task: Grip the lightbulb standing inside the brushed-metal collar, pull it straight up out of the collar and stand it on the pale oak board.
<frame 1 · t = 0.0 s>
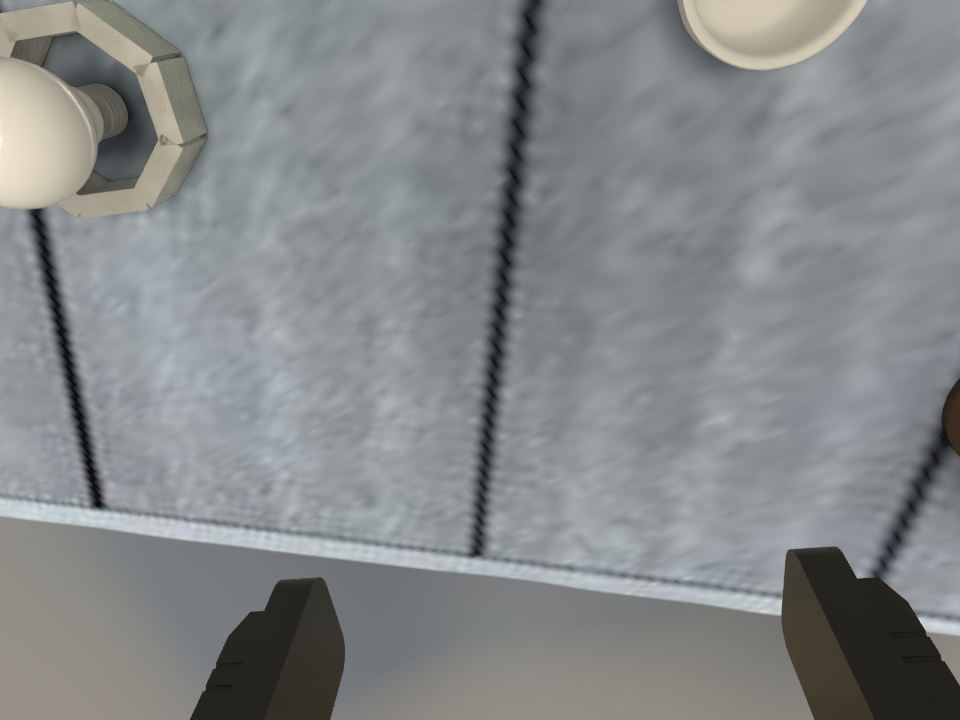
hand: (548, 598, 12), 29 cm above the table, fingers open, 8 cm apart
collar: (109, 108, 38), on the table
lightbulb: (111, 108, 38), resting in collar
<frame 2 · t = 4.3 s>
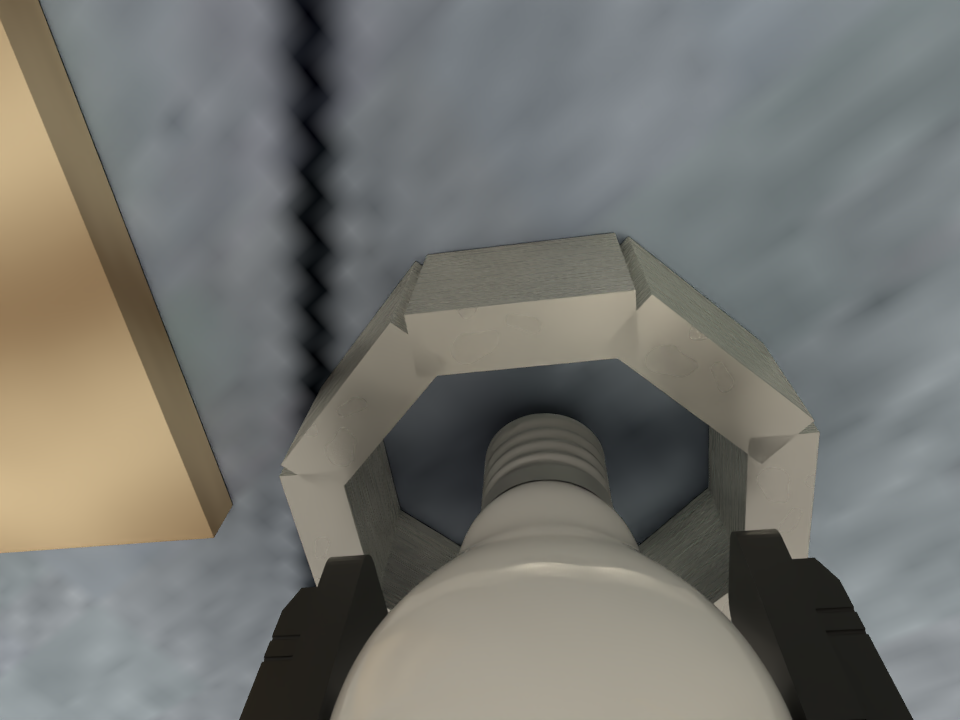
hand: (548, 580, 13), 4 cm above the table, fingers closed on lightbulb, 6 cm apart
collar: (544, 446, 16), on the table
lightbulb: (543, 441, 17), resting in collar, touching gripper
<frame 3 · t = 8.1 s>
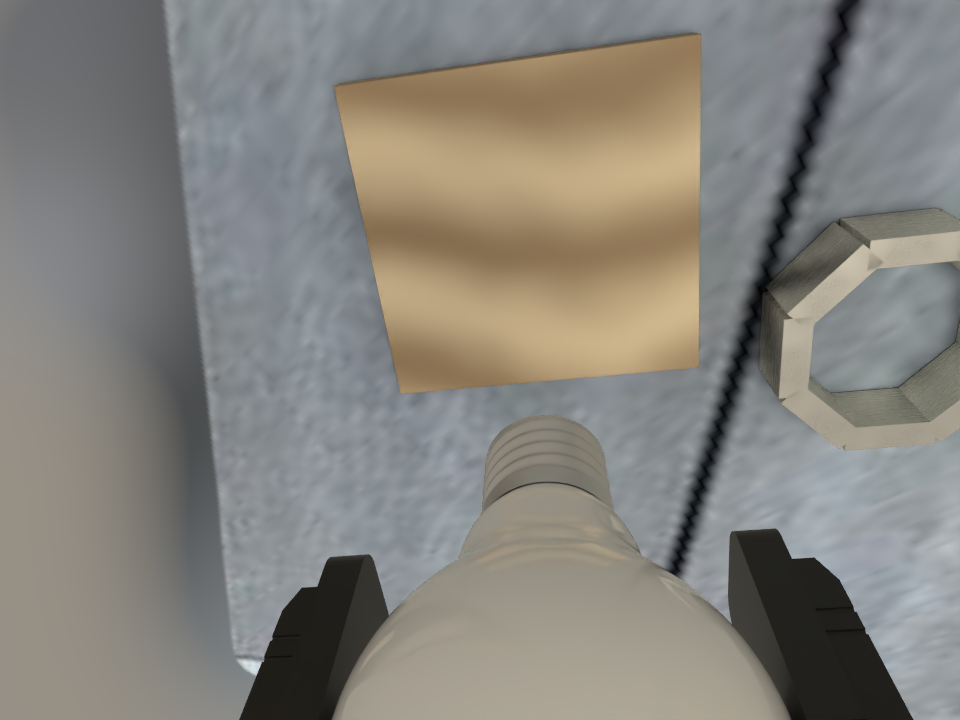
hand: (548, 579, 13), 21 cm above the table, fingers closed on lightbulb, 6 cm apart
collar: (873, 319, 32), on the table
lightbulb: (544, 443, 17), point 16 cm above the table, touching gripper
oak board: (530, 229, 31), on the table
when the fingers open (6 cm above the table, at t = 11.7 s): lightbulb drops 1 cm, resting on oak board.
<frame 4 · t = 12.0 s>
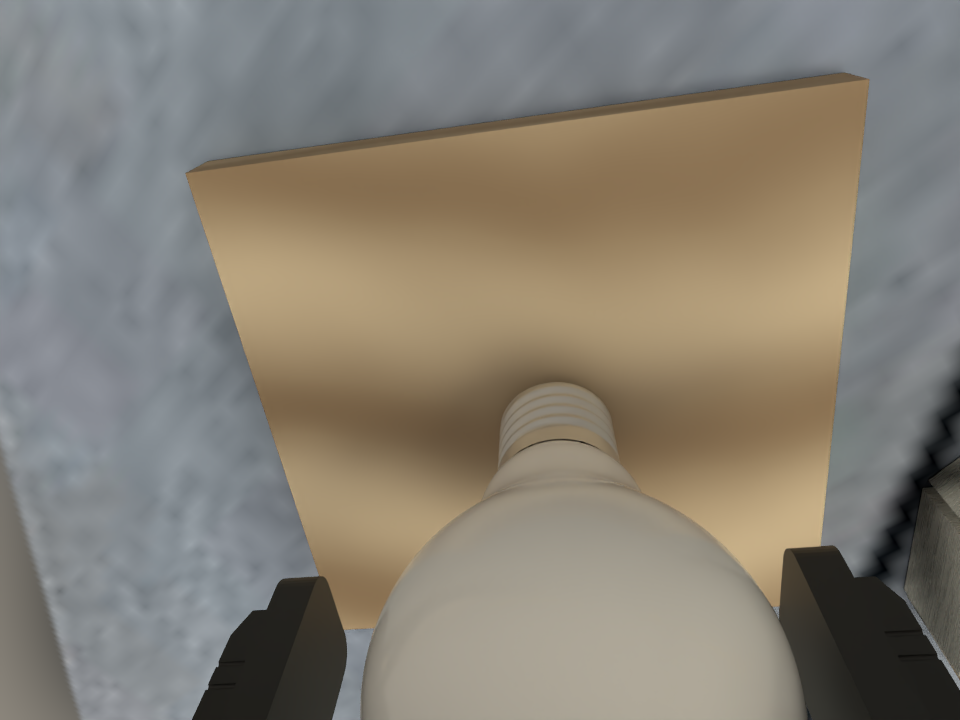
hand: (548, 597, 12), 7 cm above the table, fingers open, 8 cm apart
lightbulb: (554, 410, 18), point 1 cm above the table, touching oak board
oak board: (541, 393, 19), on the table
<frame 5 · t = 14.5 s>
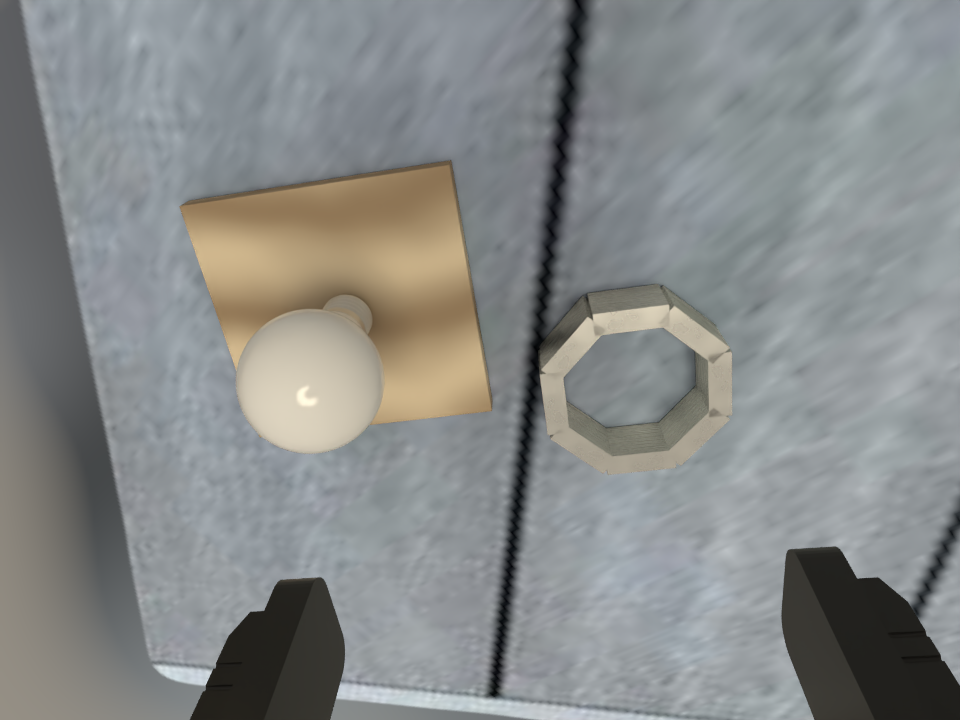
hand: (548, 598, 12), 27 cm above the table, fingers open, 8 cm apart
collar: (628, 369, 40), on the table
lightbulb: (351, 311, 38), point 1 cm above the table, touching oak board
oak board: (349, 306, 39), on the table
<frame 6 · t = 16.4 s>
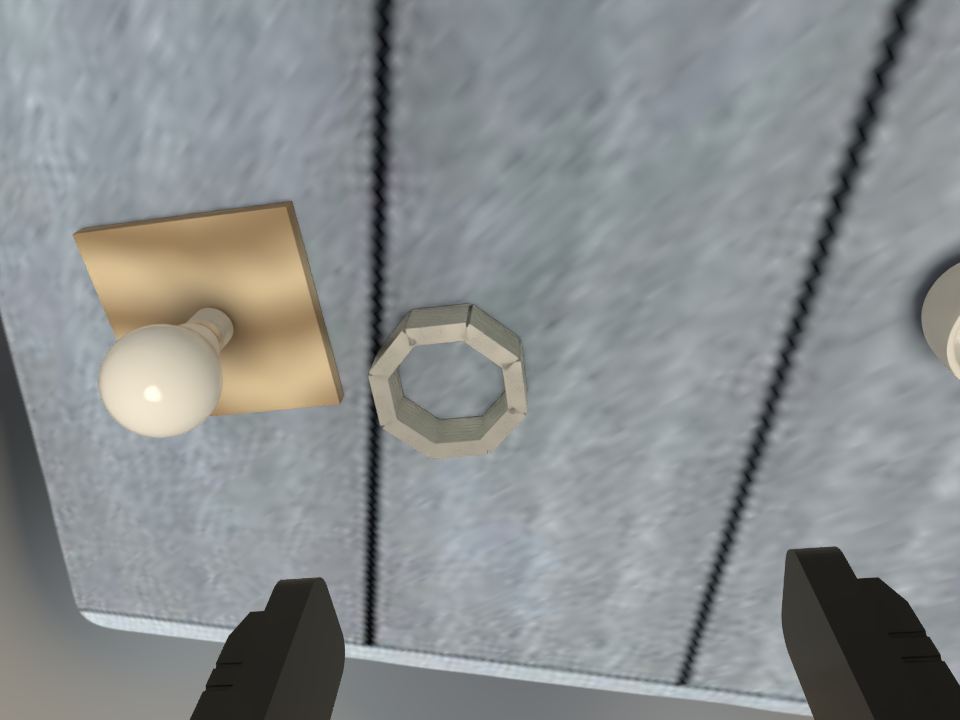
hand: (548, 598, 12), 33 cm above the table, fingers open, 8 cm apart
collar: (452, 372, 48), on the table
lightbulb: (218, 321, 46), point 1 cm above the table, touching oak board
oak board: (220, 316, 47), on the table
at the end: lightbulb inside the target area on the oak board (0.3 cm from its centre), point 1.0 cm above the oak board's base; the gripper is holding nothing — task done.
